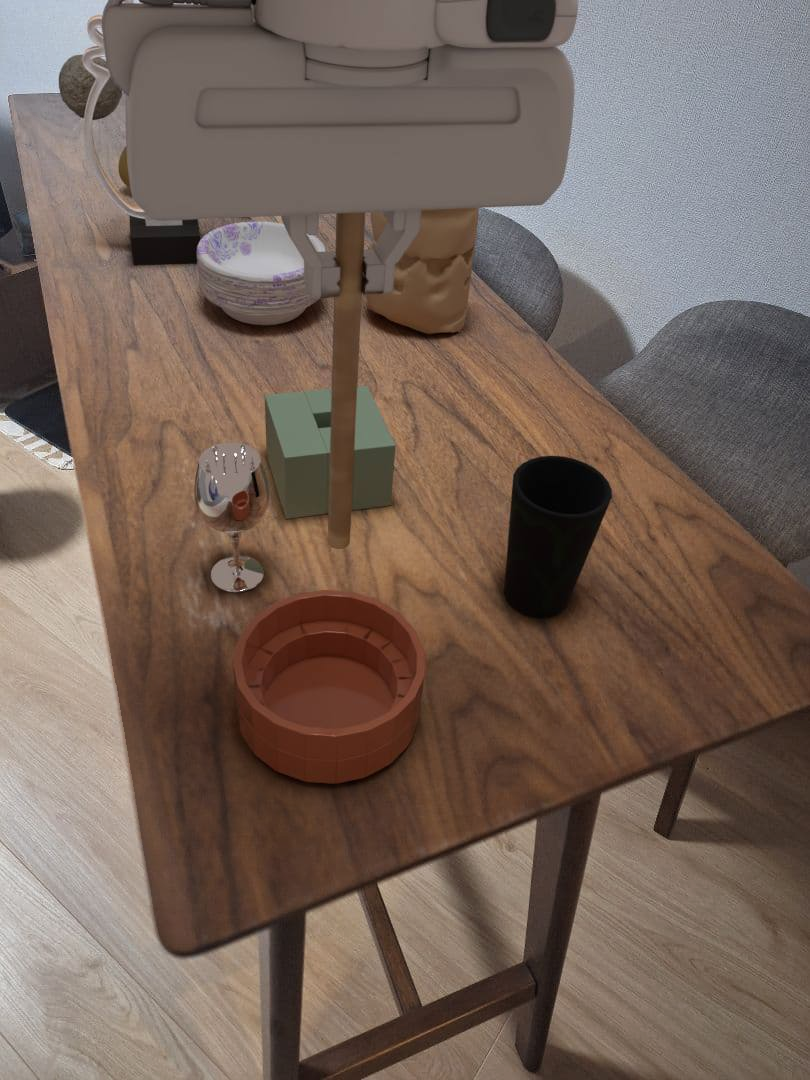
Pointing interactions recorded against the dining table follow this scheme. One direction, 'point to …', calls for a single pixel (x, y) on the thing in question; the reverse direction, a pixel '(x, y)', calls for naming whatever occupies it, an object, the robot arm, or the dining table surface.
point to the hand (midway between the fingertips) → (348, 291)
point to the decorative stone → (86, 88)
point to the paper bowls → (254, 272)
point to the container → (431, 272)
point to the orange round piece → (328, 685)
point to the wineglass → (232, 507)
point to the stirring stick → (345, 374)
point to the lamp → (146, 234)
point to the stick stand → (325, 451)
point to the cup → (551, 531)
